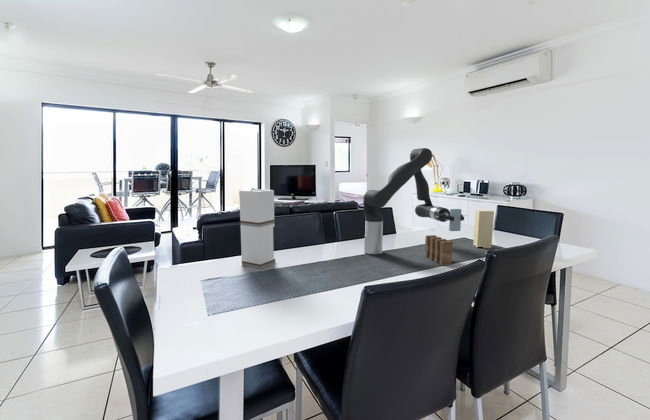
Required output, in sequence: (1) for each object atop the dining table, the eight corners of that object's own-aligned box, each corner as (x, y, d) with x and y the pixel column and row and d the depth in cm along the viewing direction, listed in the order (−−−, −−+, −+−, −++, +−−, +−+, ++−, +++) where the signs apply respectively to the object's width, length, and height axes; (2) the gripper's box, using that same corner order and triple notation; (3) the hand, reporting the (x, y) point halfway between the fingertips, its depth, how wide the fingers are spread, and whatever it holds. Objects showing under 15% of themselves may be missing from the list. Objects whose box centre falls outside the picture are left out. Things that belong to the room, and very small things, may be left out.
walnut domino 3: (434, 261, 165) (435, 239, 164) (443, 260, 166) (444, 238, 165) (436, 262, 163) (437, 240, 162) (445, 262, 165) (447, 239, 163)
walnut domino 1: (424, 256, 174) (425, 235, 172) (433, 256, 175) (434, 235, 174) (426, 257, 172) (427, 236, 170) (435, 257, 173) (436, 235, 172)
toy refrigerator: (486, 245, 198) (489, 209, 195) (491, 248, 191) (494, 211, 188) (472, 245, 199) (474, 209, 196) (477, 248, 191) (479, 211, 189)
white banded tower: (275, 263, 163) (273, 190, 158) (260, 268, 154) (258, 191, 149) (257, 259, 169) (255, 189, 164) (241, 265, 160) (239, 190, 155)
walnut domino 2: (429, 259, 170) (430, 237, 168) (438, 258, 171) (439, 236, 169) (431, 260, 168) (432, 238, 166) (440, 259, 169) (441, 237, 167)
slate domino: (449, 230, 173) (450, 209, 172) (457, 230, 174) (459, 208, 173) (451, 231, 171) (452, 209, 170) (460, 230, 172) (461, 209, 171)
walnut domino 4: (439, 264, 161) (440, 241, 159) (448, 263, 162) (450, 240, 161) (441, 265, 159) (443, 242, 158) (451, 264, 160) (452, 241, 159)
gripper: (428, 207, 184) (446, 211, 167) (451, 206, 187) (471, 210, 170) (427, 221, 185) (445, 226, 168) (451, 220, 188) (470, 225, 171)
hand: (458, 218), depth 169 cm, fingers closed on slate domino, 5 cm apart
